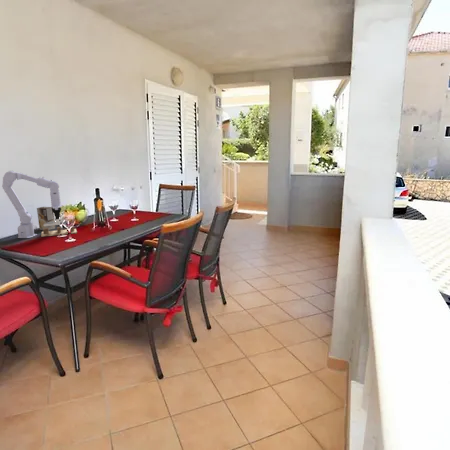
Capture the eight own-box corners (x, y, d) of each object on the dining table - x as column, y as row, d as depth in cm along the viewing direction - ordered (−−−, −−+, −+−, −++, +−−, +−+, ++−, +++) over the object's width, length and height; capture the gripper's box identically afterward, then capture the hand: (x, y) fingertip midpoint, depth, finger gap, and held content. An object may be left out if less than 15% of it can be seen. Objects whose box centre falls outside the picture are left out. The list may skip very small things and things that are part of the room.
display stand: (41, 236, 228) (40, 230, 227) (41, 233, 237) (41, 227, 236) (76, 233, 238) (76, 227, 237) (76, 230, 246) (75, 224, 245)
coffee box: (55, 228, 251) (53, 207, 248) (49, 230, 245) (46, 208, 242) (45, 227, 254) (43, 206, 250) (39, 229, 248) (36, 207, 244)
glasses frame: (43, 226, 230) (42, 217, 229) (43, 225, 234) (42, 216, 232) (72, 223, 238) (71, 214, 236) (72, 222, 241) (71, 213, 240)
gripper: (62, 200, 227) (64, 220, 230) (61, 197, 240) (63, 216, 243) (50, 200, 224) (52, 221, 227) (50, 198, 237) (52, 217, 240)
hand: (57, 218), depth 235 cm, fingers closed on glasses frame, 2 cm apart
